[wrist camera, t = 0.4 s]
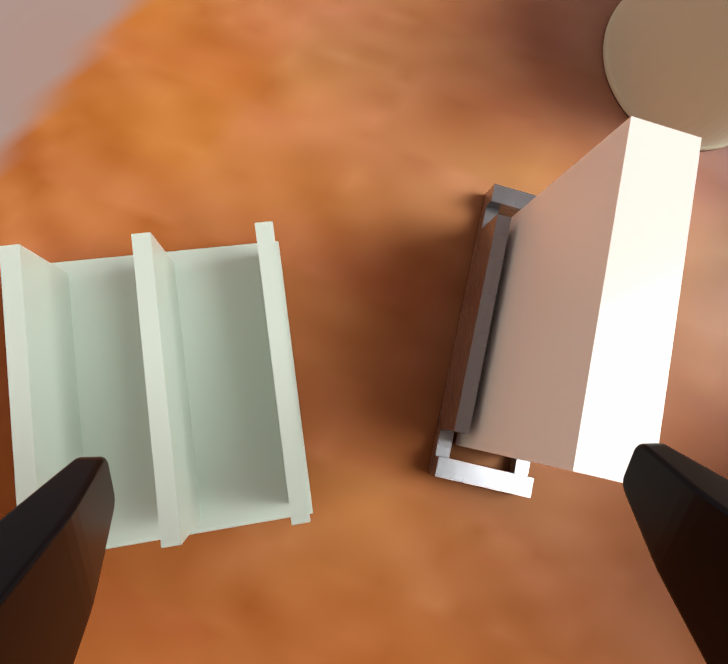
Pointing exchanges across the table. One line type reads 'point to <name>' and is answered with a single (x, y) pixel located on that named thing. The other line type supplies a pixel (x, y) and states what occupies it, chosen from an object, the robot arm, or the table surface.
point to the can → (671, 65)
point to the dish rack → (159, 383)
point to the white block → (590, 307)
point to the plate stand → (478, 350)
